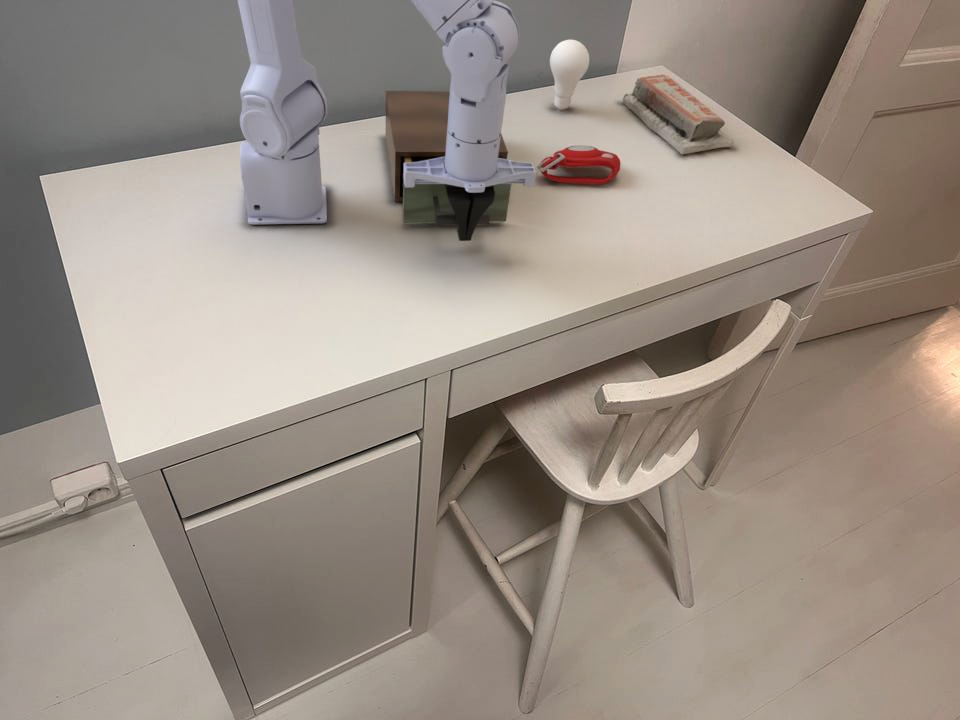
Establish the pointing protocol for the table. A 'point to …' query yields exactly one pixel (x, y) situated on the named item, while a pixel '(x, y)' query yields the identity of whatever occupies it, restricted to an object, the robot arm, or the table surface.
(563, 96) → the lightbulb
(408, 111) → the cabinet
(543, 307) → the table surface
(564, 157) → the tracker holder
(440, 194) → the drawer
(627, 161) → the table surface
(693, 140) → the packaged product
